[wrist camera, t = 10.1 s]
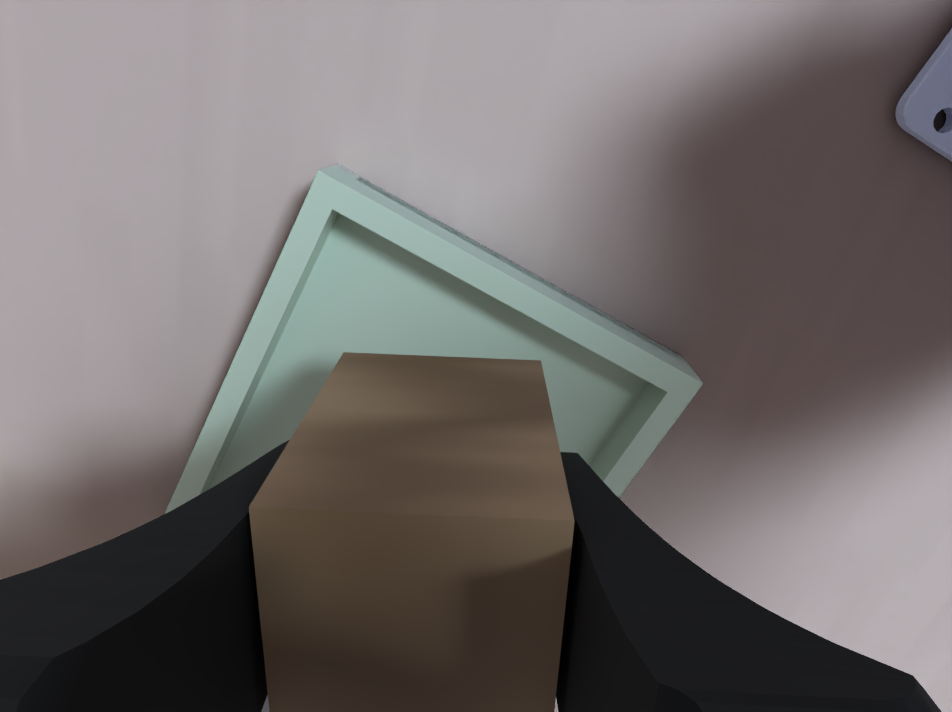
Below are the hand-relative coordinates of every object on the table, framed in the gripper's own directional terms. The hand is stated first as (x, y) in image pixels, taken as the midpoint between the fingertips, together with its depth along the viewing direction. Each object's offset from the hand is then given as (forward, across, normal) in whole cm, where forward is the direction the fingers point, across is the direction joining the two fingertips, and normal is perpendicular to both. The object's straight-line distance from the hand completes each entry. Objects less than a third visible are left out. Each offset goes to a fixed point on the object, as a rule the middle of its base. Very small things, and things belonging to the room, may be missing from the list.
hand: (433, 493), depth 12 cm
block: (+2, 0, 0) cm, 2 cm away
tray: (+6, +1, +2) cm, 6 cm away
